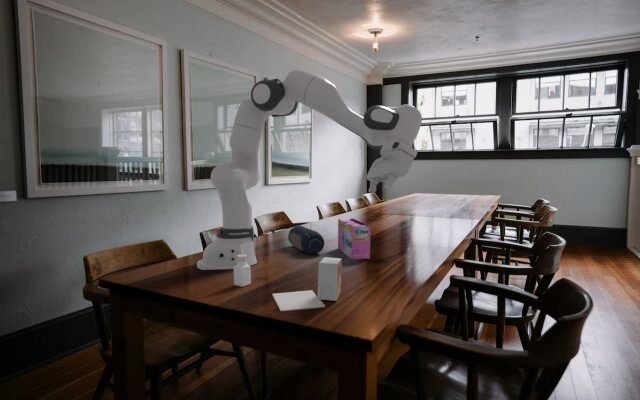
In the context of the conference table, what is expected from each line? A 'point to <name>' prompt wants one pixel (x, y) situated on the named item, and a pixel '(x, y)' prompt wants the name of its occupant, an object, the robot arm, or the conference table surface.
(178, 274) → the conference table surface
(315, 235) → the portable speaker
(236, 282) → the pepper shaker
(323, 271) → the small box
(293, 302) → the mat
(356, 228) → the gum box
